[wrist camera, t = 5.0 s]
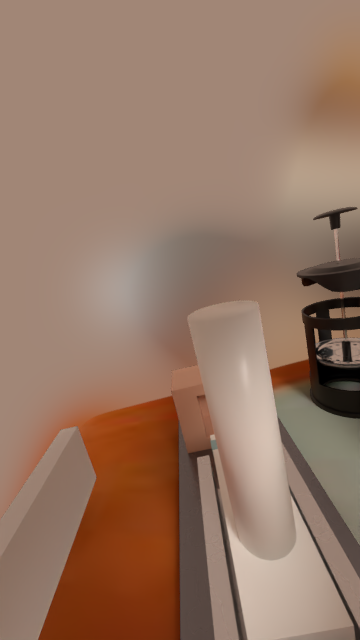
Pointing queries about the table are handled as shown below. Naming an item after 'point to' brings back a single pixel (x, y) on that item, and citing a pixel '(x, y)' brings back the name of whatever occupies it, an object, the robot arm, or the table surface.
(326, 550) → the slotted sleeve
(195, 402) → the socket block
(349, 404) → the french press
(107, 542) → the table surface
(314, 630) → the bar
